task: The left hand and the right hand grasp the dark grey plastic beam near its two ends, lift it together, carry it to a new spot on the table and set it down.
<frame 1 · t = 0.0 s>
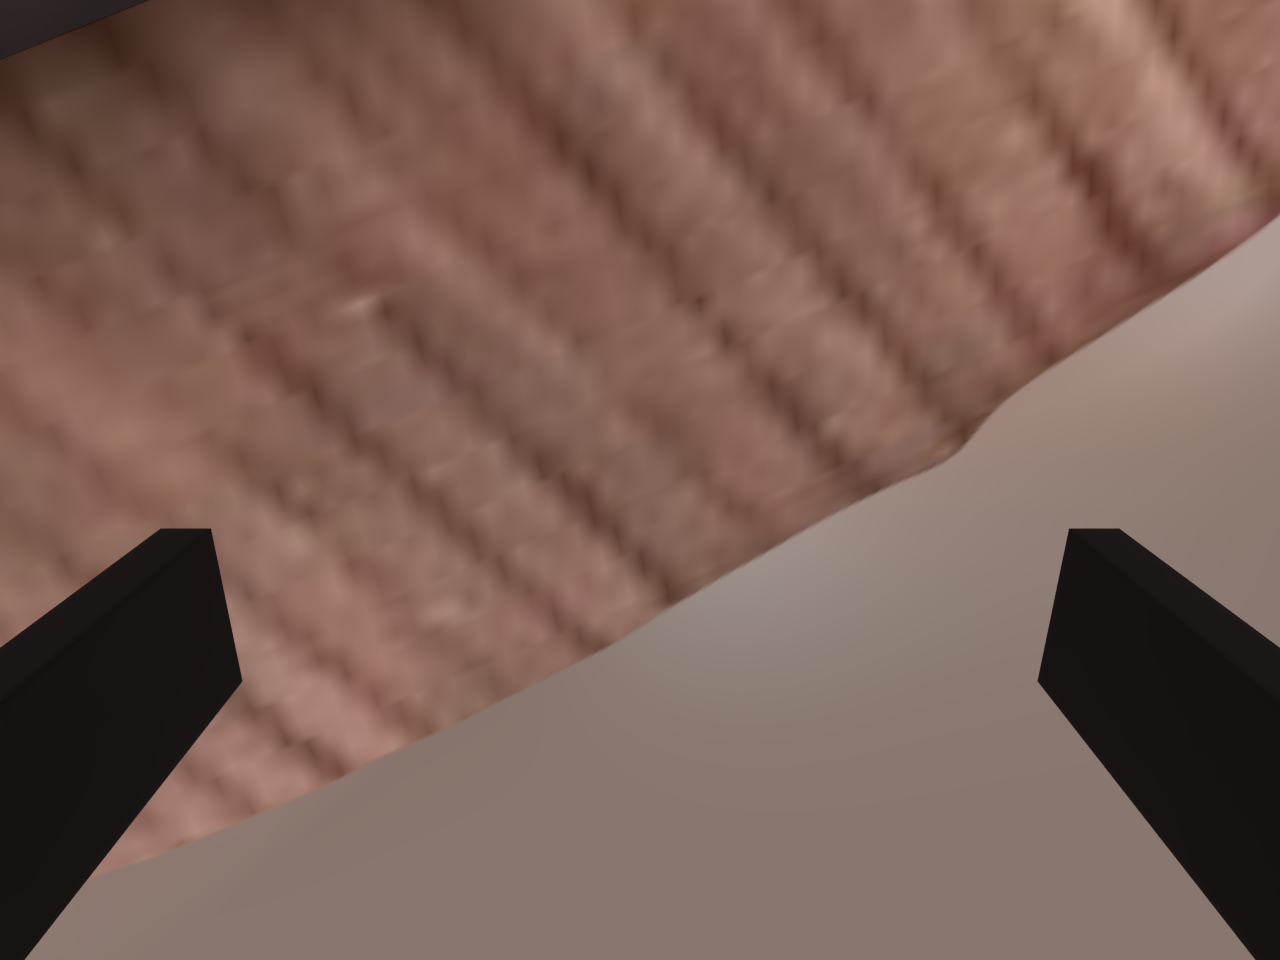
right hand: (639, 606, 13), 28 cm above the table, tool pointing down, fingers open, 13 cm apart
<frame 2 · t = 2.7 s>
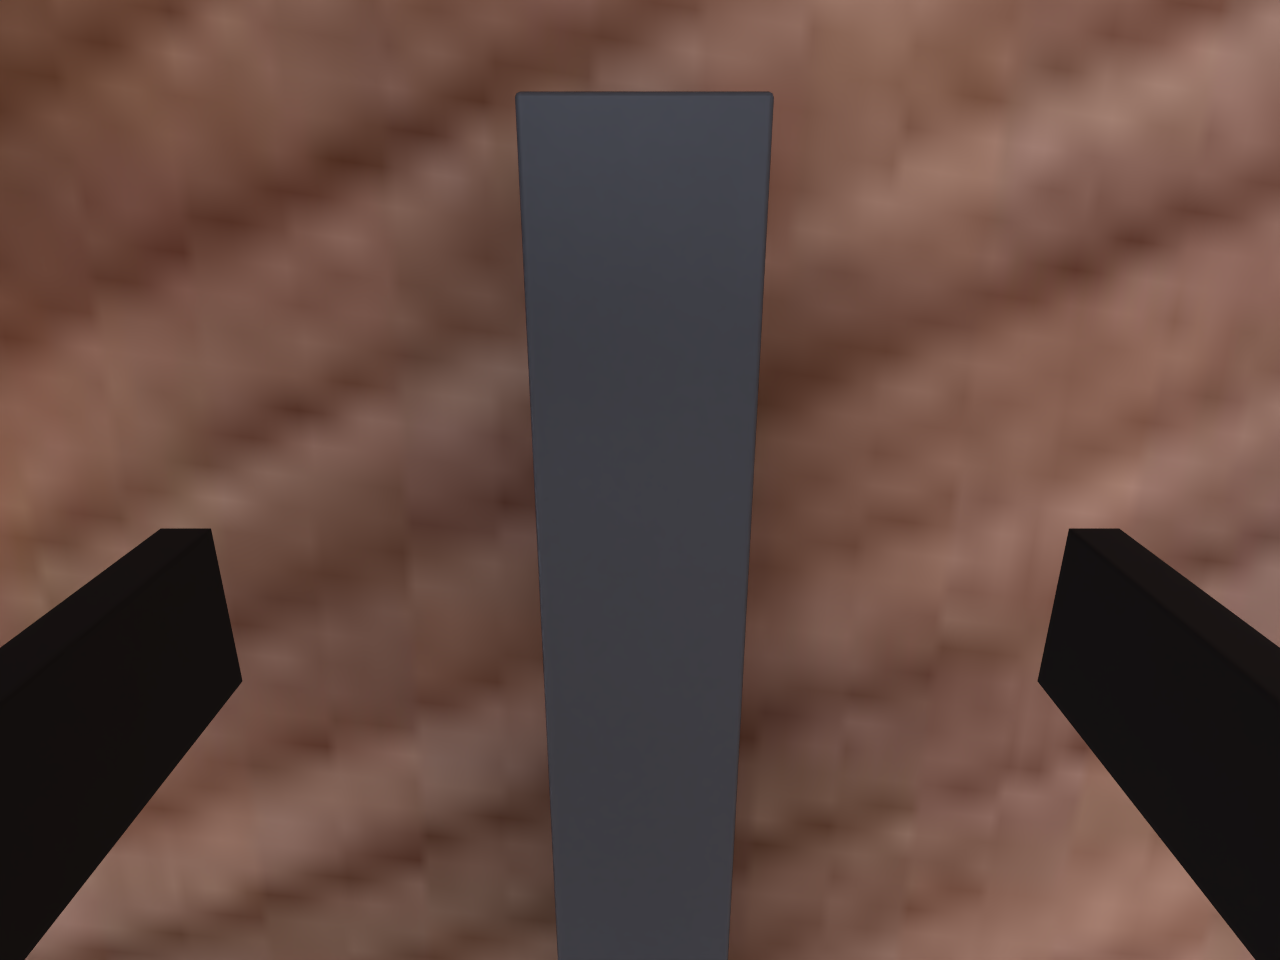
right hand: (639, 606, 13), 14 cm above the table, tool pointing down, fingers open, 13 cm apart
beam: (642, 870, 32), on the table, touching left hand
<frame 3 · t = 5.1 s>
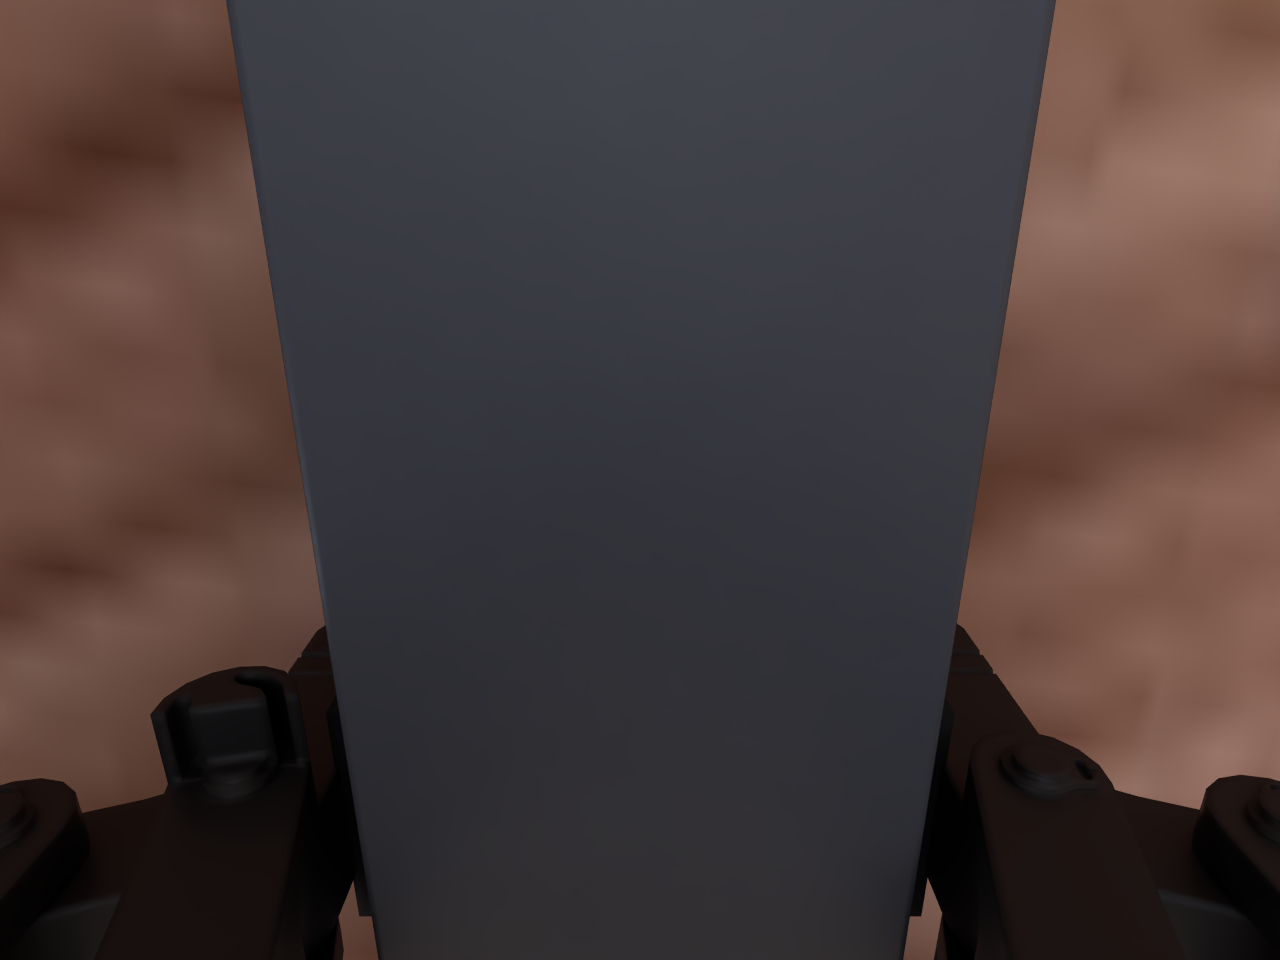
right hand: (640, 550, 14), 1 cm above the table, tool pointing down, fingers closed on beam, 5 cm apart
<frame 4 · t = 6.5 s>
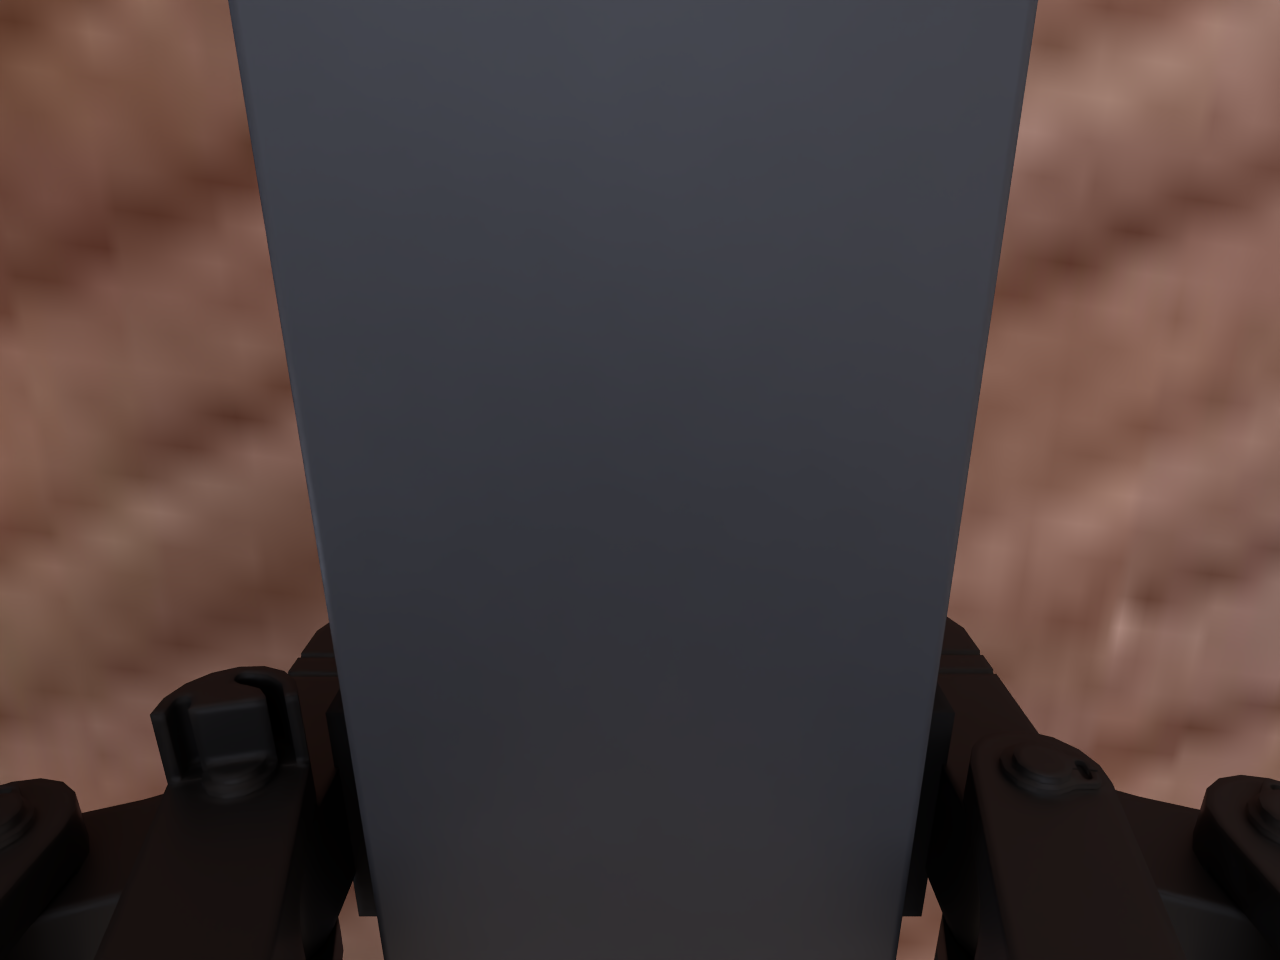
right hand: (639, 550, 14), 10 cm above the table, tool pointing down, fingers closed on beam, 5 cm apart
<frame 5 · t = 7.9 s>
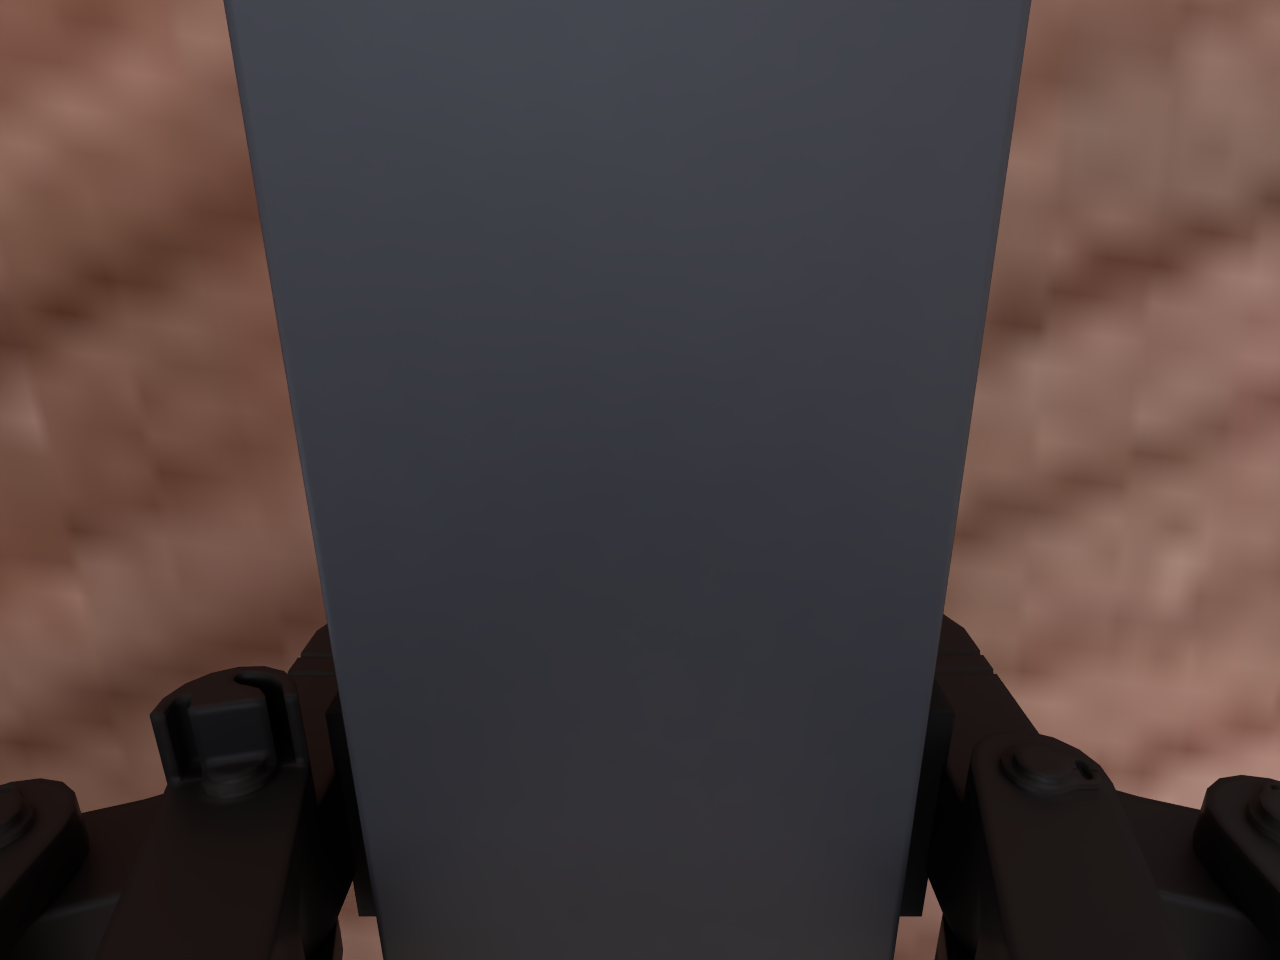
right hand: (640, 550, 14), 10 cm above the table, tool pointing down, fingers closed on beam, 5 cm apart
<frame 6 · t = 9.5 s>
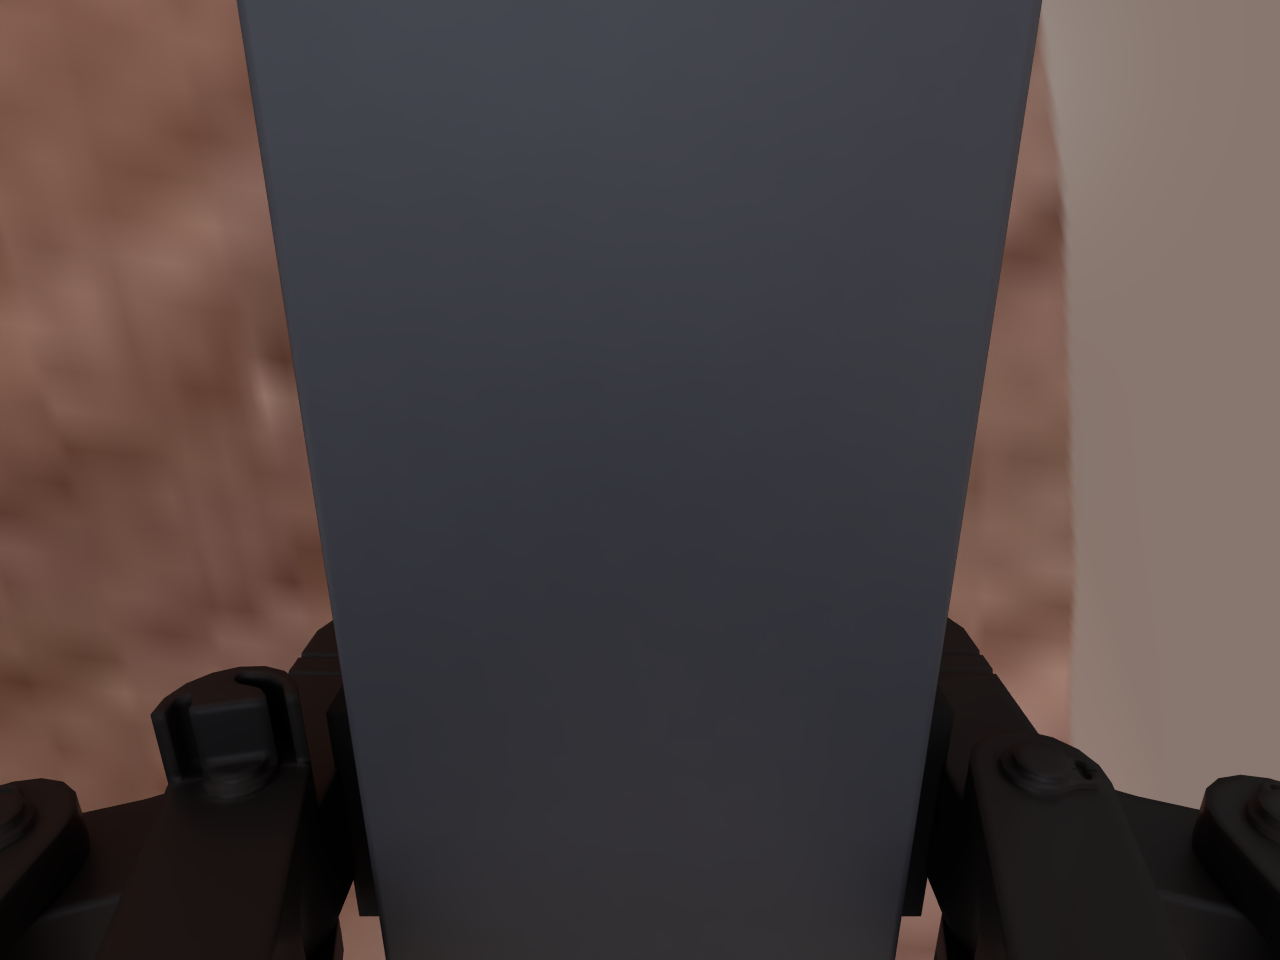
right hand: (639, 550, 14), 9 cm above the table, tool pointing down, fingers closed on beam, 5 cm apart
when the right hand's fingers open (2 cm above the table, at t = 10.7 s): beam drops 1 cm, on the table.
when the left hand's fingers open (5 cm above the table, at t = 10.8 s): beam stays where it is, on the table.
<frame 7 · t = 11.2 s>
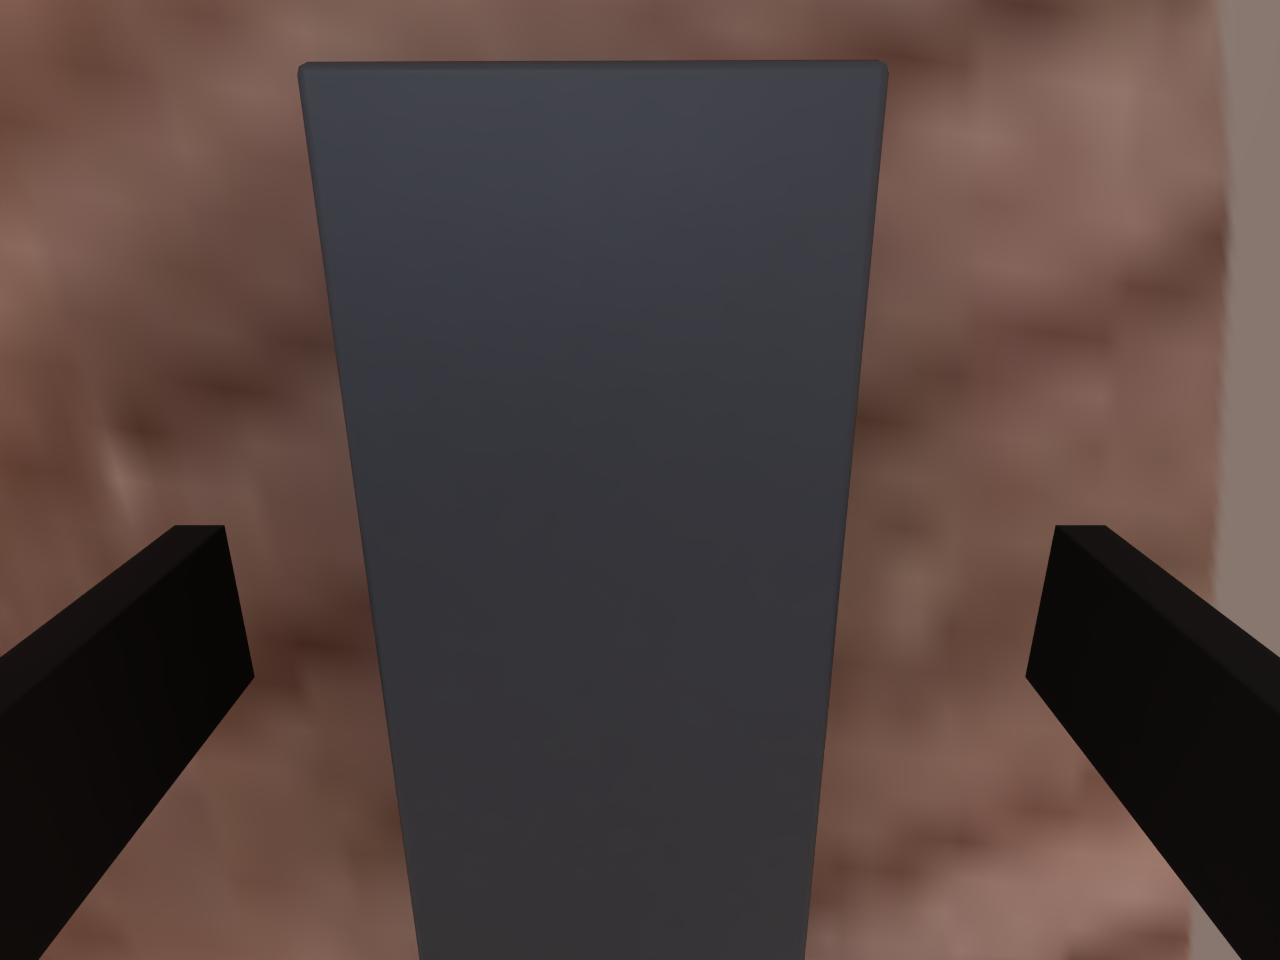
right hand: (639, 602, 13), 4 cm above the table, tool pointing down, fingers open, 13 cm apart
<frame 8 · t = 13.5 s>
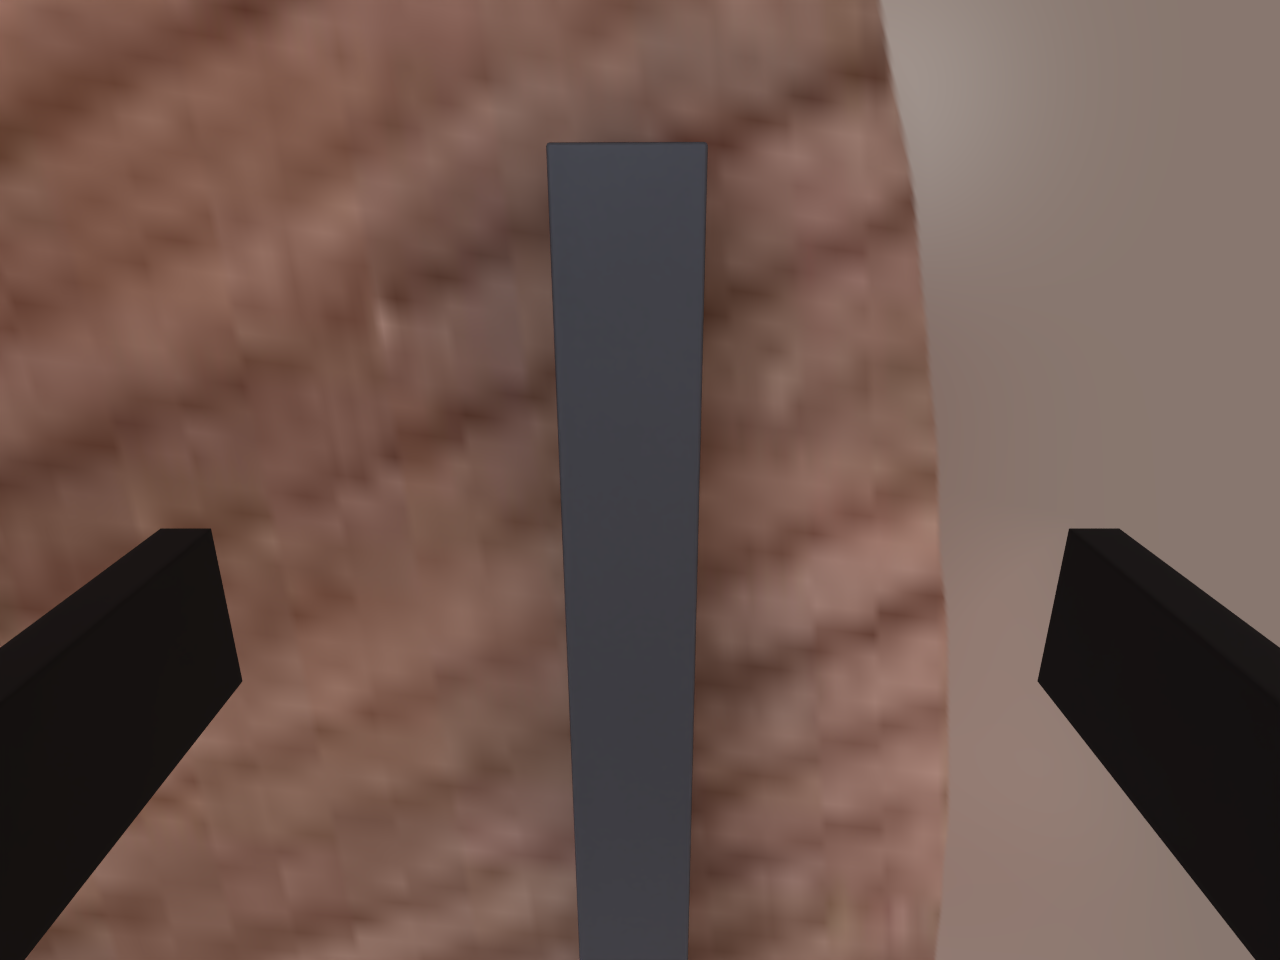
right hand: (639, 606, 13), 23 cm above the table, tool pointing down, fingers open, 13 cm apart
beam: (634, 731, 41), on the table
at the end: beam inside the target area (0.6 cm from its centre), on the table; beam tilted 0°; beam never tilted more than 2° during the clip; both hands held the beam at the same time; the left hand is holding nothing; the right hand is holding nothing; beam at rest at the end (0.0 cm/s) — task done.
